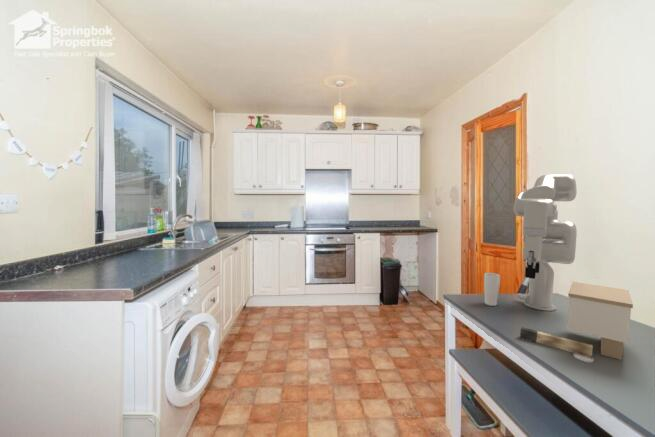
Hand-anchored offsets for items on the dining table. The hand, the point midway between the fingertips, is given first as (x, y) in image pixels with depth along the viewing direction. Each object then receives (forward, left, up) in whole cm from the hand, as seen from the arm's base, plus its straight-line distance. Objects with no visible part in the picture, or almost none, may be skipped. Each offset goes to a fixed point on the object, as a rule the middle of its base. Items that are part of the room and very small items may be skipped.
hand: (532, 275), depth 118 cm
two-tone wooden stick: (+9, -11, -22) cm, 26 cm away
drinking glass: (-19, +20, -22) cm, 35 cm away
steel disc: (+17, -14, -22) cm, 31 cm away
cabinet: (+20, +1, -22) cm, 29 cm away
